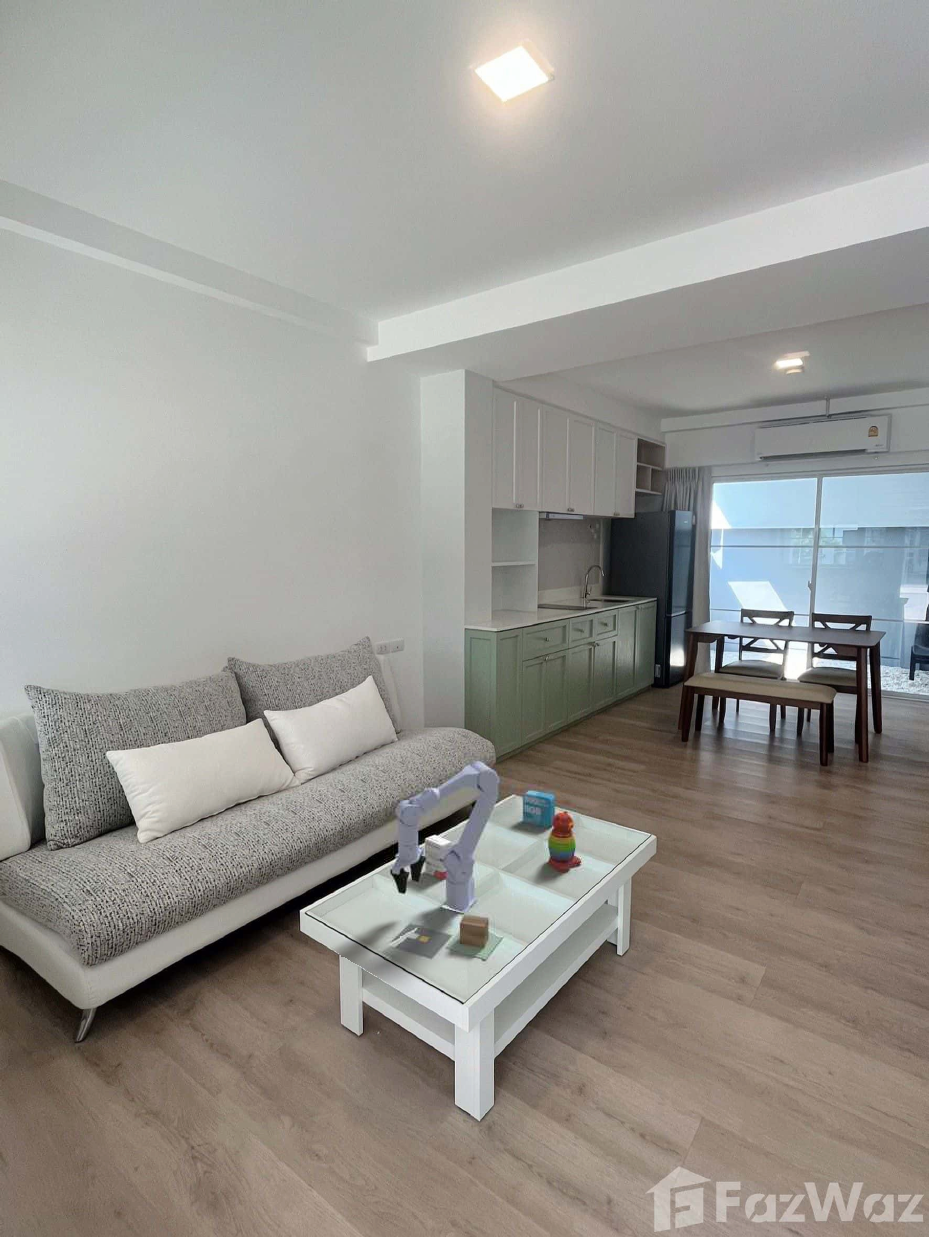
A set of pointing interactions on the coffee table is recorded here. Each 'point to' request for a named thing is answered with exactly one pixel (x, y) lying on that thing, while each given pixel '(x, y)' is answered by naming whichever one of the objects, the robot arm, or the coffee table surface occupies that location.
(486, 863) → the coffee table surface
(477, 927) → the walnut block
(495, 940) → the mat
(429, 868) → the ink box
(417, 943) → the grey flat rectangular plate
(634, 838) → the coffee table surface
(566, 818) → the stacking bear
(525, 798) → the data package
